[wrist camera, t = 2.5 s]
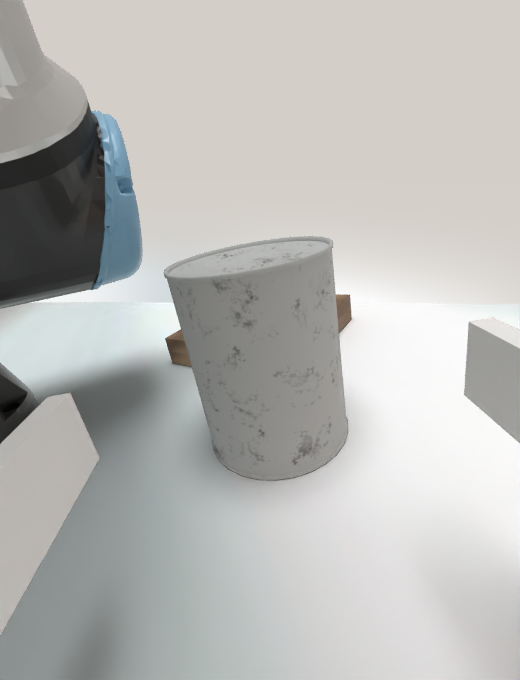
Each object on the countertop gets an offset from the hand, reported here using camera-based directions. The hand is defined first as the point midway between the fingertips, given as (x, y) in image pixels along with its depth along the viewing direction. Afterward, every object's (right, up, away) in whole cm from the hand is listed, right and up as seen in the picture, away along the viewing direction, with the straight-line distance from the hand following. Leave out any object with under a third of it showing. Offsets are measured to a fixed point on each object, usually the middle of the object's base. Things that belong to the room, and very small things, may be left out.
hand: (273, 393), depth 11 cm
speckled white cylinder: (+1, -5, +13) cm, 14 cm away
